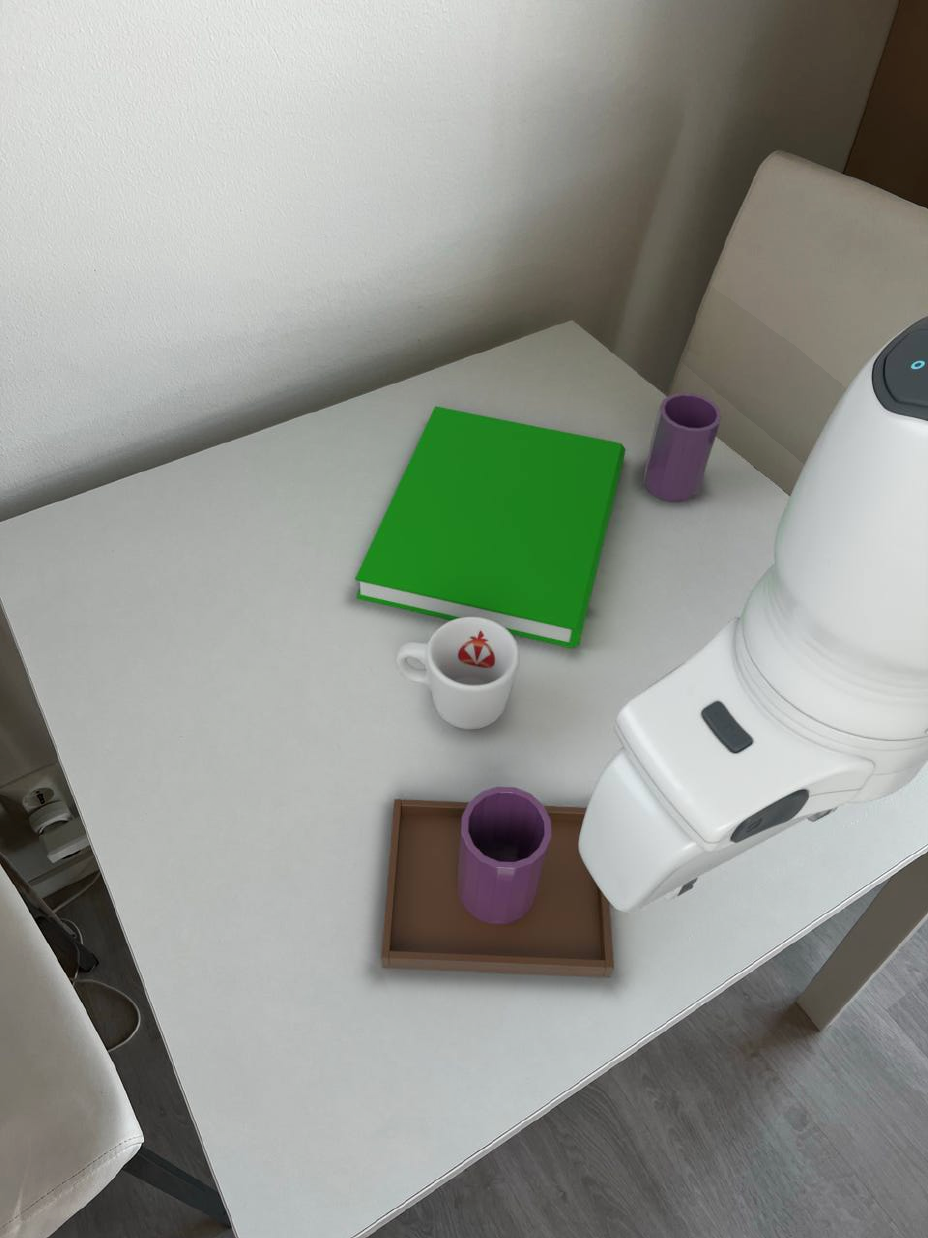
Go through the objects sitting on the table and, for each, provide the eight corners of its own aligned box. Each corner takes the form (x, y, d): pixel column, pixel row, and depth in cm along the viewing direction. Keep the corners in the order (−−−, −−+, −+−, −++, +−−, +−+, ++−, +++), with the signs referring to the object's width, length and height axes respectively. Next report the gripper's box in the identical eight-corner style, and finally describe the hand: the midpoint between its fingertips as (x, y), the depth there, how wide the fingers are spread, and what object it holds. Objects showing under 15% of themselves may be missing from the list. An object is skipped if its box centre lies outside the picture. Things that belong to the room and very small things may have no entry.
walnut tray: (598, 819, 80) (602, 808, 78) (609, 978, 71) (614, 968, 70) (394, 810, 80) (394, 798, 78) (381, 968, 71) (380, 958, 70)
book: (356, 598, 94) (355, 578, 92) (434, 426, 112) (435, 406, 110) (577, 649, 91) (582, 629, 89) (622, 464, 109) (626, 444, 107)
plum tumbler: (536, 850, 77) (550, 788, 70) (538, 926, 73) (552, 870, 65) (458, 846, 77) (463, 784, 69) (455, 923, 73) (460, 866, 65)
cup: (385, 723, 85) (383, 670, 79) (409, 655, 90) (409, 600, 84) (502, 750, 84) (509, 698, 78) (520, 680, 89) (528, 625, 83)
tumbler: (695, 465, 109) (716, 394, 102) (702, 503, 105) (725, 432, 98) (640, 462, 109) (657, 391, 102) (645, 500, 105) (663, 429, 98)
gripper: (955, 555, 44) (849, 722, 54) (582, 723, 37) (545, 876, 48) (1067, 652, 40) (931, 810, 51) (679, 857, 33) (615, 989, 44)
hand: (742, 843), depth 49 cm, fingers open, 8 cm apart
